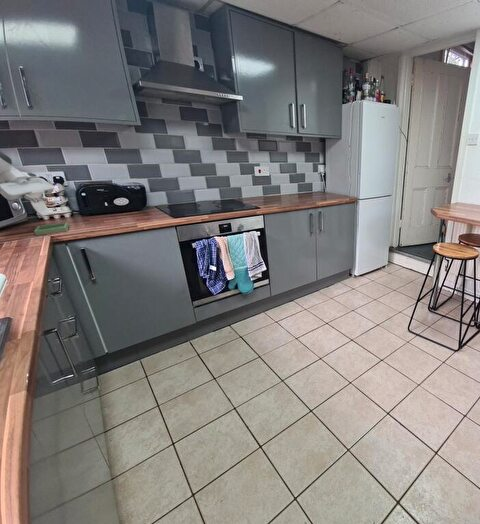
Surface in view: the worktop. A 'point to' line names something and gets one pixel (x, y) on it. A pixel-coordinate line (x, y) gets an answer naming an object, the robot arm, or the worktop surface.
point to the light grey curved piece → (39, 203)
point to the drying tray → (51, 228)
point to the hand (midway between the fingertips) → (41, 201)
